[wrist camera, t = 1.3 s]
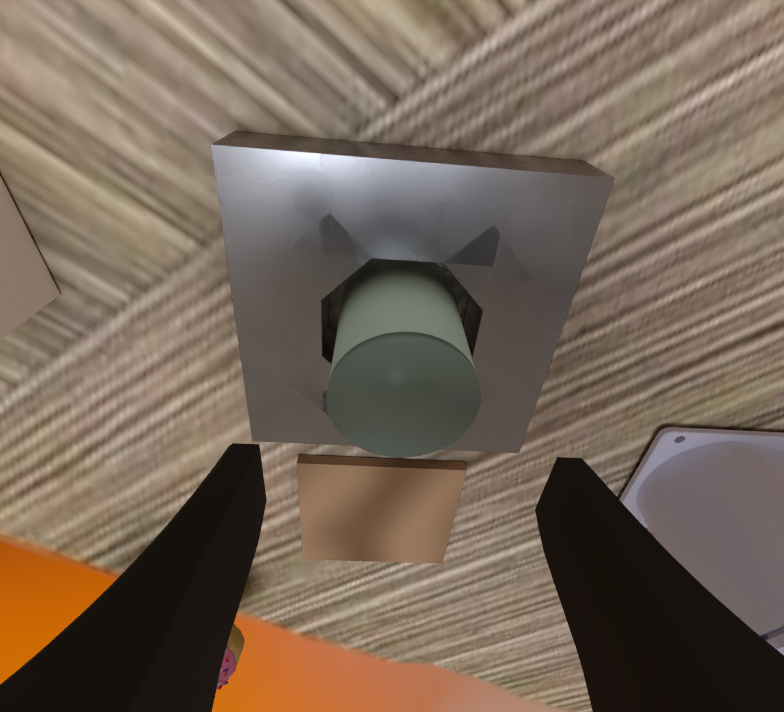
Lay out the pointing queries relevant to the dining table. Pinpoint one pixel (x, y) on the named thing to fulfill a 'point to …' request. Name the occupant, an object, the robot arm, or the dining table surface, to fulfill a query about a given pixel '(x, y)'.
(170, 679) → the robot arm
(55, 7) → the dining table surface
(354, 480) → the coaster
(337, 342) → the cylinder
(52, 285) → the milk
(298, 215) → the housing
